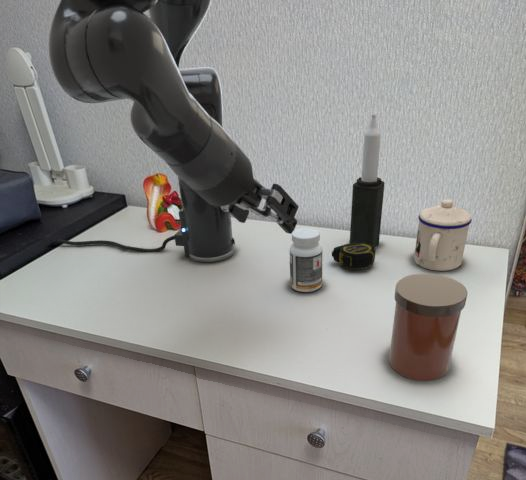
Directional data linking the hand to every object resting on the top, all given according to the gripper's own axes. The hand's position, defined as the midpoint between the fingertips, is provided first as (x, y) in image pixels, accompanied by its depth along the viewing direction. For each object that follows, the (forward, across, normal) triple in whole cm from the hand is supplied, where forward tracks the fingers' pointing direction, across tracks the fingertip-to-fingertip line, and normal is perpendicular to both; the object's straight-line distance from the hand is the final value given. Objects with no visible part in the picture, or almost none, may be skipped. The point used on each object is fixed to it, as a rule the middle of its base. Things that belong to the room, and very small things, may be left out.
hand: (268, 222), depth 72 cm
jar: (+10, -25, +11) cm, 30 cm away
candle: (+33, -1, -11) cm, 35 cm away
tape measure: (+27, -3, -5) cm, 27 cm away
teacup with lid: (+32, -16, -10) cm, 38 cm away
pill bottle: (+18, 0, +4) cm, 19 cm away
